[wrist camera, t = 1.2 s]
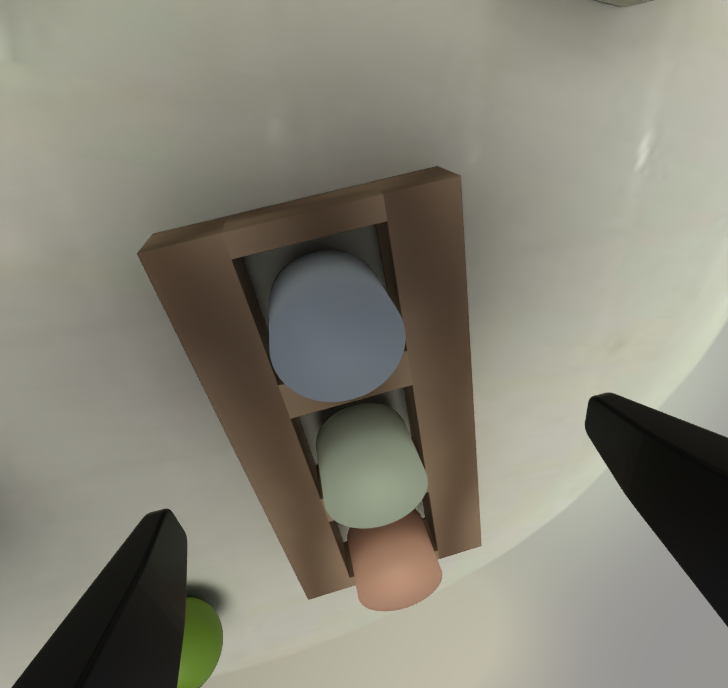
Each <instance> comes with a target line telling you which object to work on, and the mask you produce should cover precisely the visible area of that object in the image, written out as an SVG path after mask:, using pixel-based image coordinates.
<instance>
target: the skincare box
mask: <svg viewBox="0 0 728 688" xmlns="http://www.w3.org/2000/svg"><path fill="white" fill-rule="evenodd" d="M597 1H601V2H605V3H609V4H613V5H617V6H621V7H628V6H632V5H636V4H640V3H644V2H649V1H653V0H597Z"/></svg>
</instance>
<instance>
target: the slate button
mask: <svg viewBox="0 0 728 688" xmlns="http://www.w3.org/2000/svg"><path fill="white" fill-rule="evenodd" d="M405 339H406V336H405V327H404V323H403V320H402V318H401V315H400V314H399V312H398V310H397V309H396V307H395V305H394V304H393V302H392V300H391V299H390V297H389V296H388V294H387V292H386V291H385V289H384V288H383V286H382V284H381V283H380V281H379V279H378V278H377V276H376V275H375V273H374V272H373V270H372V269H371V268H370V267H369V266H368V265H367V264H366V263H365V262H364V261H362V260H361V259H359V258H358V257H356V256H354V255H352V254H349V253H346V252H343V251H338V250H319V251H313V252H310V253H307V254H304V255H302V256H300V257H298V258H296V259H295V260H293V261H292V262H290V263H289V264H288V265H287V266H286V267H285V268H284V269H283V270H282V271H281V272H280V273H279V275H278V276H277V278H276V279H275V281H274V283H273V285H272V288H271V291H270V296H269V350H270V358H271V361H272V365H273V367H274V369H275V372H276V373H277V375H278V376H279V378H280V379H281V380H282V381H283V383H284V384H285V385H286V386H288V387H289V388H290V389H291V390H293V391H294V392H296V393H297V394H299V395H301V396H304V397H306V398H309V399H312V400H317V401H322V402H341V401H347V400H352V399H355V398H358V397H361V396H363V395H365V394H368V393H369V392H371V391H373V390H375V389H376V388H377V387H379V386H380V385H382V384H383V383H384V382H385V381H386V380H387V379H388V378H389V377H390V376H391V375H392V373H393V372H394V371H395V369H396V368H397V366H398V364H399V362H400V360H401V358H402V355H403V352H404V348H405Z"/></svg>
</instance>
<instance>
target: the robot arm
mask: <svg viewBox="0 0 728 688" xmlns="http://www.w3.org/2000/svg"><path fill="white" fill-rule="evenodd" d="M585 429H586V432H587V434H588V436H589V438H590V439H591V441H592V443H593V444H594V446H595V447H596V449H597V451H598V452H599V454H600V455H601V457H602V459H603V460H604V462H605V463H606V465H607V467H608V468H609V470H610V471H611V473H612V474H613V476H614V478H615V479H616V481H617V482H618V484H619V486H620V487H621V489H622V490H623V492H624V493H625V495H626V496H627V497H628V499H629V500H630V501H631V503H632V504H633V505H634V507H635V508H636V509H637V511H638V512H639V513H640V515H641V516H642V517H643V518H644V520H645V521H646V522H647V524H648V525H649V526H650V527H651V529H652V530H653V531H654V533H655V534H656V535H657V536H658V538H659V539H660V540H661V542H662V543H663V544H664V545H665V547H666V548H667V549H668V551H669V552H670V553H671V554H672V556H673V557H674V558H675V560H676V561H677V562H678V563H679V565H680V566H681V567H682V569H683V570H684V571H685V573H686V574H687V575H688V576H689V577H690V579H691V580H692V582H693V583H694V584H695V585H696V587H697V588H698V589H699V591H700V592H701V593H702V594H703V596H704V597H705V598H706V600H707V601H708V602H709V603H710V605H711V606H712V607H713V609H714V610H715V611H716V612H717V614H718V615H719V616H720V617H721V619H722V620H723V621H724V623H725V624H726V625H727V627H728V438H727V437H725V436H722V435H719V434H717V433H714V432H712V431H709V430H707V429H704V428H701V427H699V426H696V425H694V424H691V423H689V422H686V421H683V420H681V419H678V418H676V417H673V416H670V415H668V414H665V413H663V412H660V411H658V410H655V409H652V408H650V407H647V406H645V405H642V404H640V403H637V402H634V401H632V400H629V399H627V398H624V397H622V396H619V395H616V394H614V393H603V394H599V395H595V396H592V397H591V398H590V399H589V402H588V408H587V414H586V420H585ZM186 580H187V537H186V534H185V531H184V530H183V528H182V526H181V525H180V523H179V522H178V520H177V519H176V517H175V516H174V514H173V512H172V511H171V510H169V509H162V510H158V511H154V512H150V513H148V514H147V515H145V516H144V517H143V519H142V520H141V521H140V522H139V524H138V525H137V526H136V528H135V529H134V530H133V531H132V533H131V534H130V535H129V537H128V538H127V539H126V540H125V542H124V543H123V544H122V546H121V547H120V548H119V550H118V551H117V552H116V553H115V555H114V556H113V557H112V559H111V560H110V561H109V562H108V564H107V565H106V566H105V568H104V569H103V570H102V571H101V573H100V574H99V575H98V577H97V578H96V579H95V580H94V582H93V583H92V584H91V586H90V587H89V588H88V590H87V591H86V592H85V593H84V595H83V596H82V597H81V599H80V600H79V601H78V602H77V604H76V605H75V606H74V608H73V609H72V610H71V611H70V613H69V614H68V615H67V617H66V618H65V619H64V620H63V622H62V623H61V624H60V626H59V627H58V628H57V630H56V631H55V632H54V633H53V635H52V636H51V637H50V639H49V640H48V641H47V642H46V644H45V645H44V646H43V648H42V649H41V650H40V651H39V653H38V654H37V655H36V657H35V658H34V659H33V660H32V662H31V663H30V664H29V666H28V667H27V668H26V670H25V671H24V672H23V673H22V675H21V676H20V677H19V679H18V680H17V681H16V682H15V684H14V685H13V686H12V688H177V684H178V677H179V669H180V661H181V653H182V646H183V638H184V629H185V616H186Z"/></svg>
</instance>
